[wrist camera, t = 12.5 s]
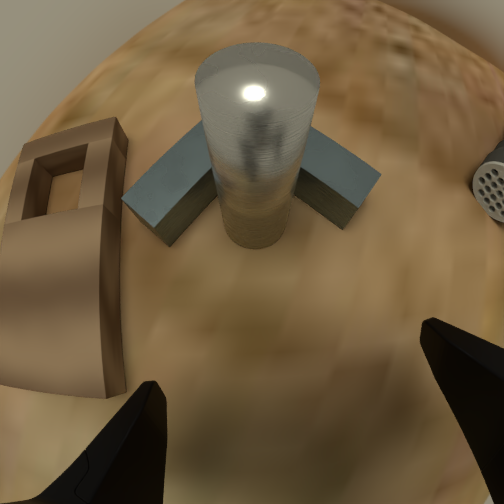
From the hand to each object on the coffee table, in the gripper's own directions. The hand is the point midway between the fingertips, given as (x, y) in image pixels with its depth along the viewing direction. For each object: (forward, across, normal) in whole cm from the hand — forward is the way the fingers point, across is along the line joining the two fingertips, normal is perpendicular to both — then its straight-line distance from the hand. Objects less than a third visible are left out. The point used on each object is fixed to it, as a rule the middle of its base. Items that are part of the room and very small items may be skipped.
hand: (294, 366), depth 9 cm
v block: (+14, 0, -3) cm, 15 cm away
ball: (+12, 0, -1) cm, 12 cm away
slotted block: (+12, +14, -2) cm, 18 cm away
